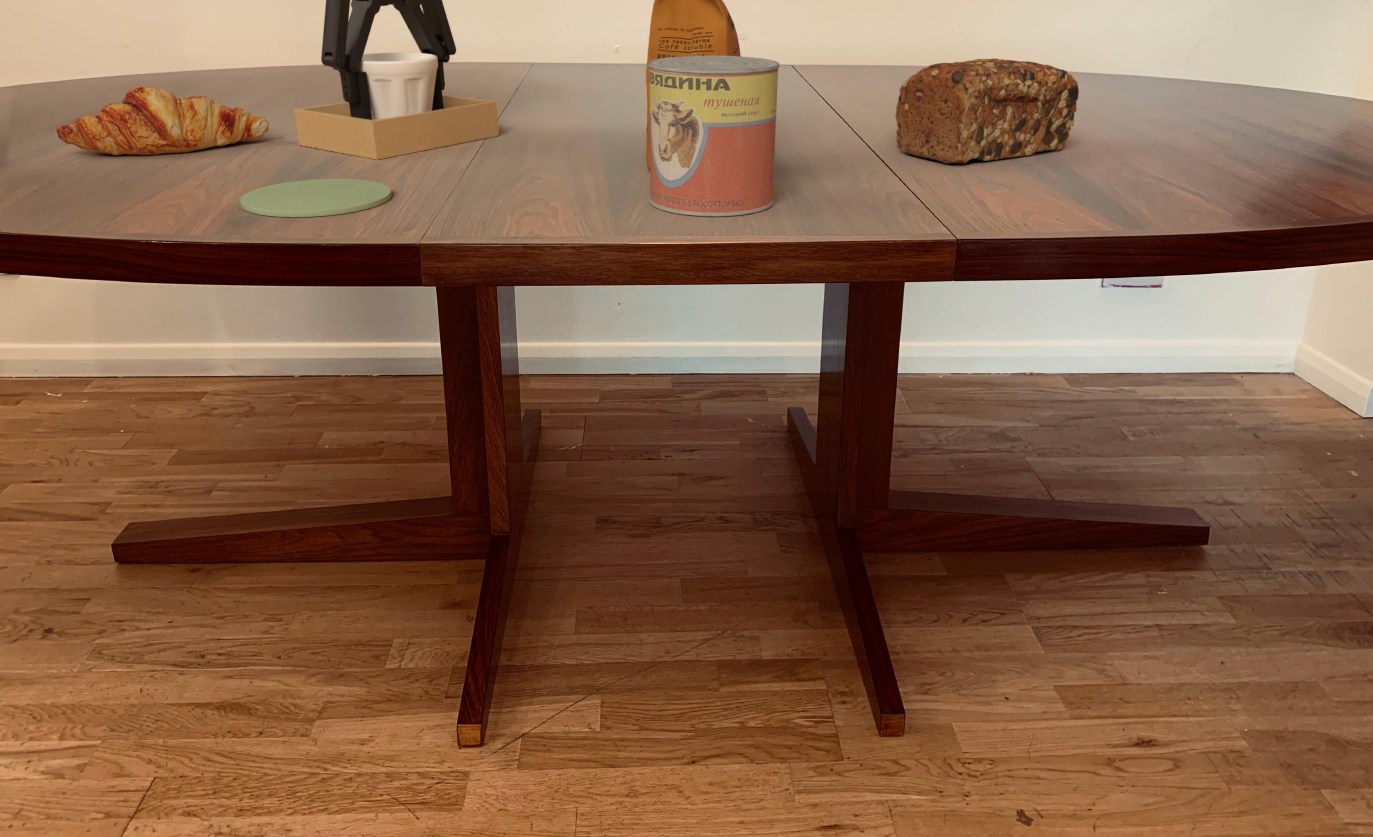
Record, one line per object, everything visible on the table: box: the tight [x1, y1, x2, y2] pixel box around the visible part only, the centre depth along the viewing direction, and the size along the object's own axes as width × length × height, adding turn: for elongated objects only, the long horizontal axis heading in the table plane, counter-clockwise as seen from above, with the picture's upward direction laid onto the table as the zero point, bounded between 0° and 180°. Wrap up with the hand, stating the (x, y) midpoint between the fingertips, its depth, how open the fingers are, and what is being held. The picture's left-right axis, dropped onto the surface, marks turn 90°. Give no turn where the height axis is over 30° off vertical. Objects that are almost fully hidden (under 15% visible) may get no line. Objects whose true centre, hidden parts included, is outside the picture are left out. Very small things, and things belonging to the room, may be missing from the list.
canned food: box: [648, 56, 780, 217], centre depth 90 cm, size 11×11×12 cm
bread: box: [894, 57, 1080, 165], centre depth 112 cm, size 19×11×10 cm, turn 123°
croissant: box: [55, 86, 270, 156], centre depth 112 cm, size 21×10×8 cm, turn 120°
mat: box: [239, 178, 393, 218], centre depth 92 cm, size 13×13×1 cm
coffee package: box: [645, 0, 742, 170], centre depth 103 cm, size 10×12×22 cm
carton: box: [293, 94, 500, 161], centre depth 118 cm, size 14×18×4 cm
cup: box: [358, 52, 438, 120], centre depth 116 cm, size 10×10×9 cm
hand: (400, 125), depth 118 cm, fingers closed on cup, 10 cm apart
